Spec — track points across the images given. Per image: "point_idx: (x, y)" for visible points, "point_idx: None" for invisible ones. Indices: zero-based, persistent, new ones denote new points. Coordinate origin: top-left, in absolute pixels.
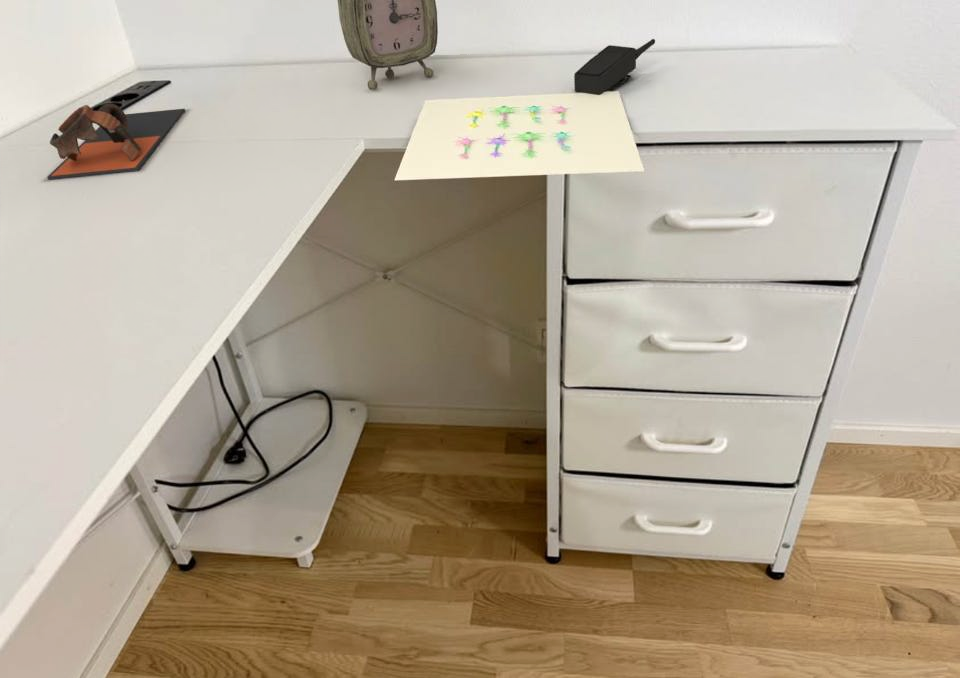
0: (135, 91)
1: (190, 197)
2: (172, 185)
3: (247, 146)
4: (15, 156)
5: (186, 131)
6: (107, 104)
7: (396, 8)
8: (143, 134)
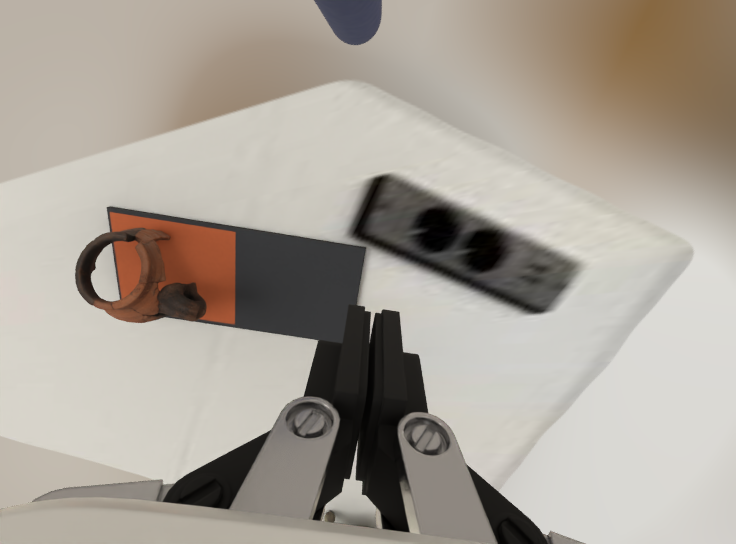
0: (516, 263)
1: (42, 360)
2: (75, 344)
3: (179, 405)
4: (221, 128)
5: (255, 347)
6: (176, 315)
7: None
8: (248, 304)
